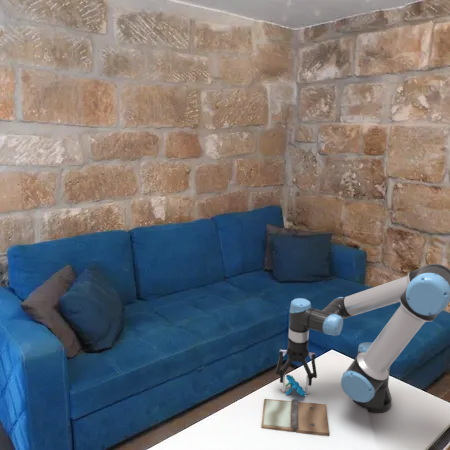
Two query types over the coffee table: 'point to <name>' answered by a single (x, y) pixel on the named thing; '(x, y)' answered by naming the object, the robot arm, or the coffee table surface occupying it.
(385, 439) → the coffee table surface
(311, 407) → the hinge board
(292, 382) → the gear
